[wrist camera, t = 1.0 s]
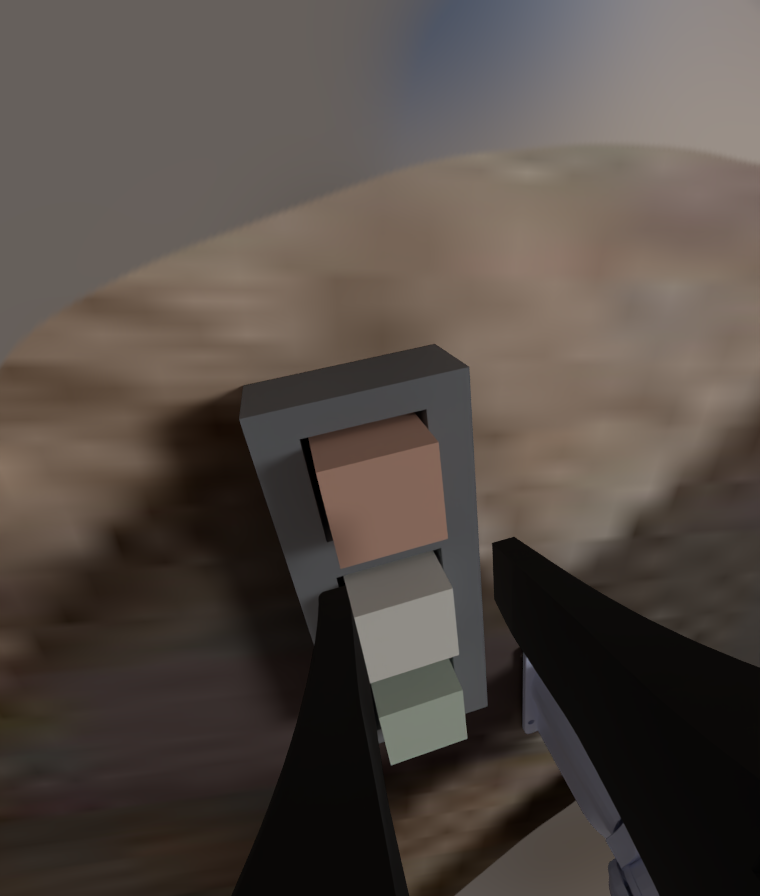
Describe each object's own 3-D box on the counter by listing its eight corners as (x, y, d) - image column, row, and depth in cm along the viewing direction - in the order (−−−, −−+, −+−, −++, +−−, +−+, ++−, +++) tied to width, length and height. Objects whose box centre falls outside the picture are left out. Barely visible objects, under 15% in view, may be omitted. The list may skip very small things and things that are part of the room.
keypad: (463, 653, 28) (487, 706, 25) (339, 693, 27) (349, 753, 24) (435, 344, 18) (469, 367, 15) (243, 385, 17) (238, 419, 14)
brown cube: (418, 488, 19) (448, 538, 16) (327, 512, 19) (340, 569, 15) (407, 404, 17) (438, 442, 14) (306, 427, 17) (315, 473, 14)
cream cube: (432, 595, 22) (459, 654, 19) (354, 619, 22) (369, 683, 19) (424, 533, 20) (452, 588, 17) (339, 557, 20) (353, 618, 17)
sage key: (442, 676, 25) (467, 738, 22) (375, 699, 25) (391, 765, 22) (436, 629, 23) (462, 690, 20) (363, 652, 23) (378, 718, 20)
